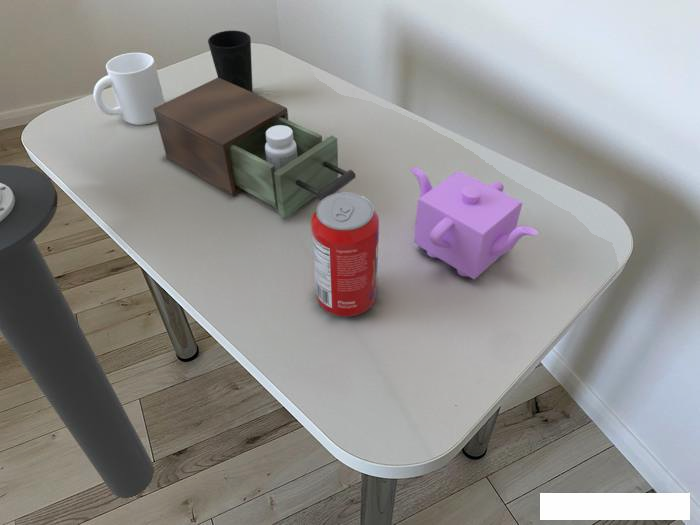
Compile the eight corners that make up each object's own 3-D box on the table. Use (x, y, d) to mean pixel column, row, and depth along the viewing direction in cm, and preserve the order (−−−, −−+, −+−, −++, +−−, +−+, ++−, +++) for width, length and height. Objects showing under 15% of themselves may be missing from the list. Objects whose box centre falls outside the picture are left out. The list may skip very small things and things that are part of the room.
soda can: (306, 311, 74) (298, 222, 63) (329, 270, 79) (325, 182, 68) (364, 328, 72) (366, 239, 61) (384, 284, 77) (388, 196, 66)
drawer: (366, 193, 90) (367, 151, 84) (313, 234, 83) (310, 191, 77) (270, 146, 99) (265, 105, 94) (215, 179, 93) (206, 137, 87)
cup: (219, 110, 110) (208, 49, 101) (217, 91, 115) (207, 32, 107) (260, 106, 111) (252, 45, 102) (256, 87, 116) (248, 28, 108)
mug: (110, 137, 103) (92, 84, 96) (96, 117, 108) (78, 65, 101) (173, 117, 108) (160, 65, 101) (158, 99, 113) (144, 48, 106)
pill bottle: (303, 171, 92) (299, 125, 86) (294, 189, 89) (289, 142, 83) (274, 168, 93) (269, 122, 87) (265, 185, 89) (258, 138, 84)
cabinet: (292, 158, 98) (287, 107, 91) (232, 196, 91) (222, 144, 84) (226, 126, 106) (218, 77, 99) (167, 158, 98) (153, 108, 92)
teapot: (509, 222, 86) (523, 161, 78) (523, 288, 76) (541, 226, 69) (406, 219, 87) (411, 159, 79) (407, 284, 77) (413, 222, 69)
